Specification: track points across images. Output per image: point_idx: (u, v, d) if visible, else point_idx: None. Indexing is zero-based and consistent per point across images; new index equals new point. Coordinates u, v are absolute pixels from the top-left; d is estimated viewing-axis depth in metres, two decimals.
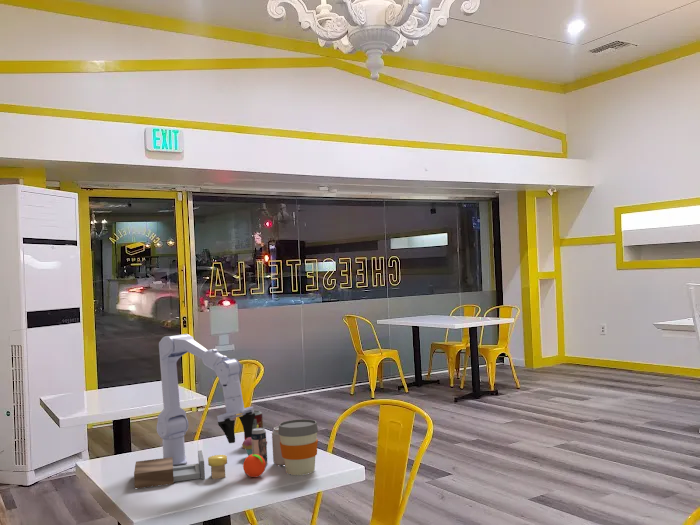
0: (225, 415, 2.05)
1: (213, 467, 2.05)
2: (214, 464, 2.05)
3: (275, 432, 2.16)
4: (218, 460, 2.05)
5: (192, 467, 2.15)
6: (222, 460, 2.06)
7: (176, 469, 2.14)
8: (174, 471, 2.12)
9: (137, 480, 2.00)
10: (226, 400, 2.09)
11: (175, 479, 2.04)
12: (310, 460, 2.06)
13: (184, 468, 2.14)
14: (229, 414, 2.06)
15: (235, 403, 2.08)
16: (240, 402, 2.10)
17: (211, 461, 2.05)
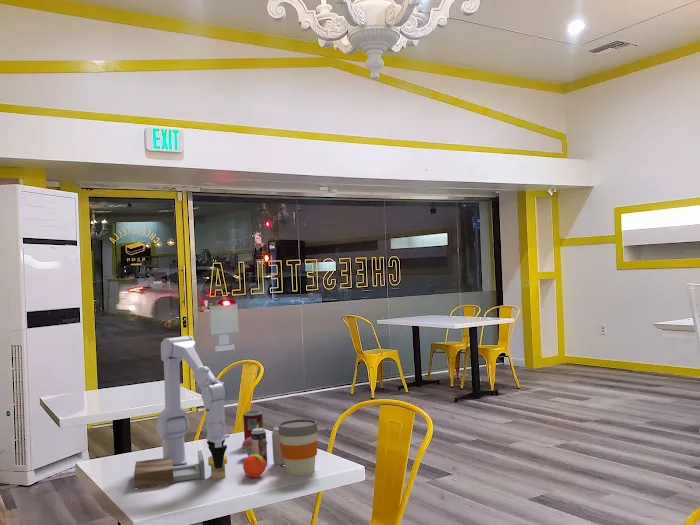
0: (221, 440, 2.03)
1: (213, 467, 2.05)
2: None
3: (275, 432, 2.16)
4: None
5: (192, 467, 2.15)
6: None
7: (176, 469, 2.14)
8: (174, 471, 2.12)
9: (137, 480, 2.00)
10: (215, 425, 2.05)
11: (175, 479, 2.04)
12: (310, 460, 2.06)
13: (184, 468, 2.14)
14: (222, 439, 2.04)
15: (223, 428, 2.07)
16: None
17: (211, 461, 2.05)
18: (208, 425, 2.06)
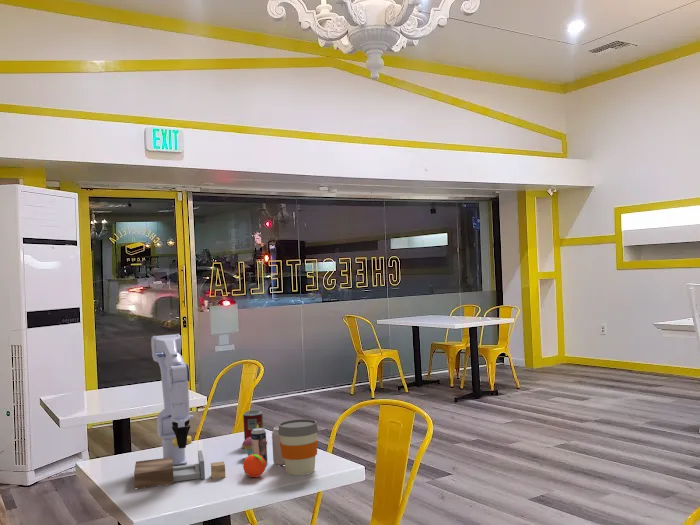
0: (185, 420, 2.06)
1: (213, 467, 2.05)
2: None
3: (275, 432, 2.16)
4: None
5: (192, 467, 2.15)
6: None
7: (176, 469, 2.14)
8: (174, 471, 2.12)
9: (137, 480, 2.00)
10: (179, 406, 2.08)
11: (175, 479, 2.04)
12: (310, 460, 2.06)
13: (184, 468, 2.14)
14: (186, 419, 2.07)
15: (187, 409, 2.10)
16: None
17: (175, 441, 2.08)
18: (172, 406, 2.09)
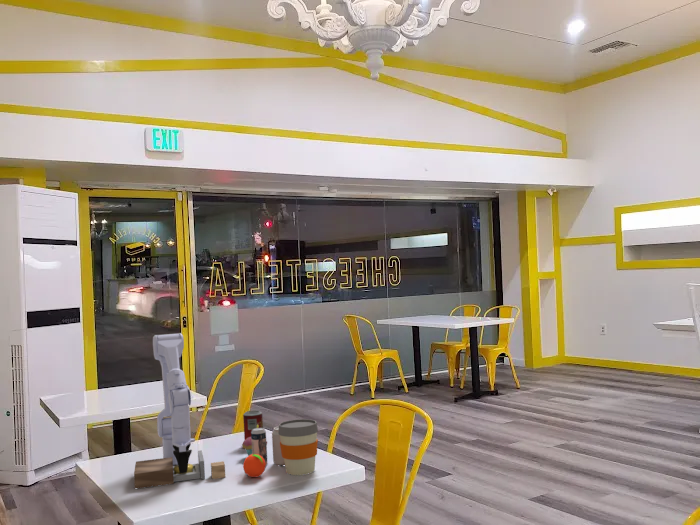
0: (186, 445, 2.06)
1: (213, 467, 2.05)
2: (179, 473, 2.08)
3: (275, 432, 2.16)
4: None
5: None
6: (187, 469, 2.08)
7: None
8: None
9: (137, 480, 2.00)
10: (180, 430, 2.08)
11: (175, 479, 2.04)
12: (310, 460, 2.06)
13: None
14: (187, 444, 2.07)
15: (189, 433, 2.10)
16: (190, 431, 2.12)
17: (176, 470, 2.08)
18: (173, 430, 2.09)
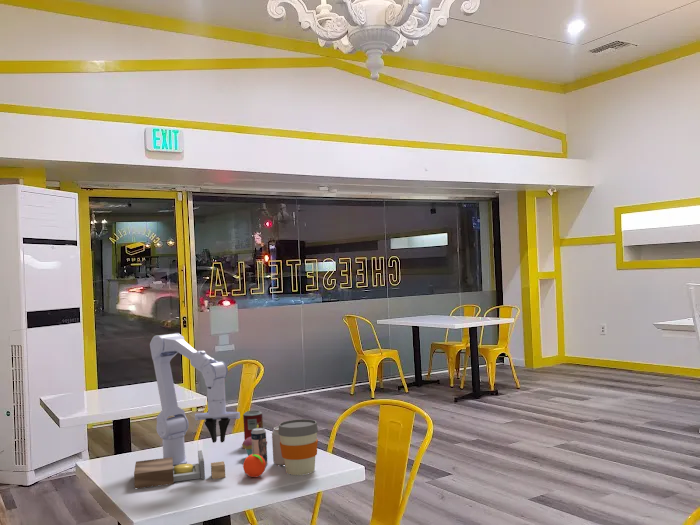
0: None
1: (213, 467, 2.05)
2: (179, 473, 2.08)
3: (275, 432, 2.16)
4: (183, 469, 2.08)
5: None
6: (187, 469, 2.08)
7: None
8: None
9: (137, 480, 2.00)
10: (224, 400, 2.14)
11: (175, 479, 2.04)
12: (310, 460, 2.06)
13: None
14: None
15: None
16: None
17: (176, 470, 2.08)
18: (218, 402, 2.12)
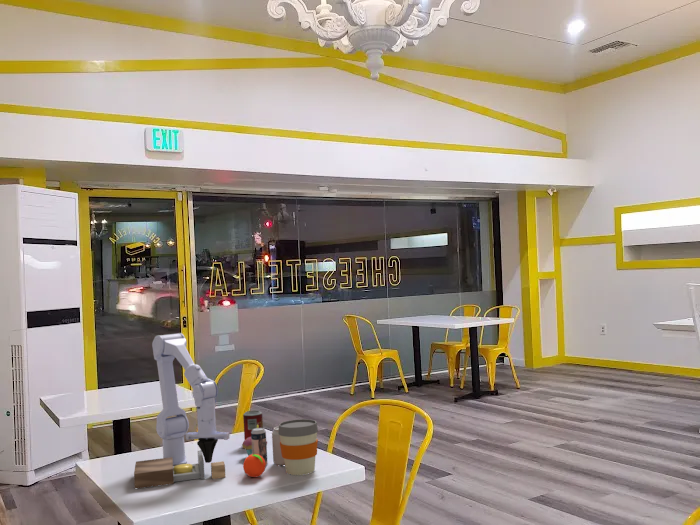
0: None
1: (213, 467, 2.05)
2: (179, 473, 2.08)
3: (275, 432, 2.16)
4: (183, 469, 2.08)
5: (192, 467, 2.15)
6: (187, 469, 2.08)
7: None
8: None
9: (137, 480, 2.00)
10: (214, 421, 2.12)
11: (175, 479, 2.04)
12: (310, 460, 2.06)
13: None
14: None
15: None
16: None
17: (176, 470, 2.08)
18: (207, 422, 2.11)
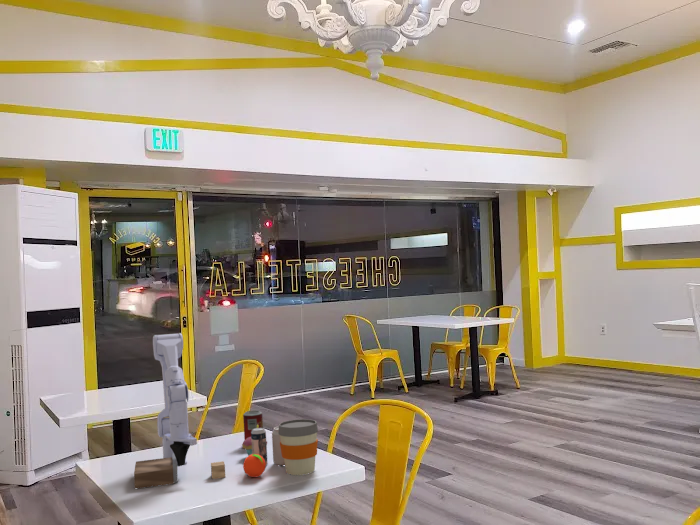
0: None
1: (213, 467, 2.05)
2: None
3: (275, 432, 2.16)
4: None
5: None
6: None
7: None
8: None
9: (137, 480, 2.00)
10: (183, 425, 2.09)
11: None
12: (310, 460, 2.06)
13: None
14: None
15: None
16: None
17: None
18: (175, 426, 2.08)
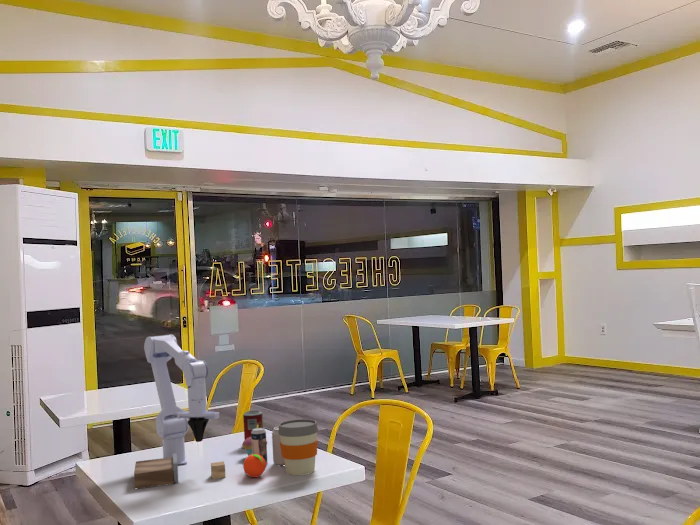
0: None
1: (213, 467, 2.05)
2: None
3: (275, 432, 2.16)
4: None
5: None
6: None
7: None
8: None
9: (137, 480, 2.00)
10: (204, 400, 2.13)
11: None
12: (310, 460, 2.06)
13: None
14: None
15: None
16: None
17: None
18: (197, 401, 2.12)
